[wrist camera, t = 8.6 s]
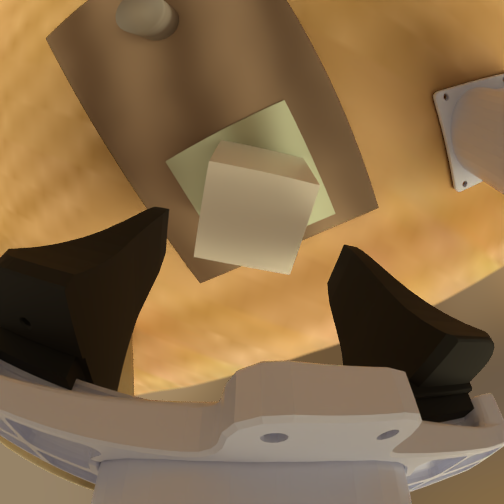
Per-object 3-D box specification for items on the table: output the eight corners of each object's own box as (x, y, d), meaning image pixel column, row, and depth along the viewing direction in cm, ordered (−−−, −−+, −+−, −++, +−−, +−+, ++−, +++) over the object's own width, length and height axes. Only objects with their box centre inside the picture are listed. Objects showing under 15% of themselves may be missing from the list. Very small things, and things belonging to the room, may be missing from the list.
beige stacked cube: (303, 158, 17) (320, 185, 13) (282, 230, 20) (289, 275, 16) (220, 139, 17) (208, 160, 12) (206, 215, 19) (193, 256, 15)
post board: (230, -71, 10) (224, -105, 6) (372, 201, 20) (399, 232, 16) (55, 38, 13) (12, 37, 9) (202, 273, 23) (192, 316, 19)
